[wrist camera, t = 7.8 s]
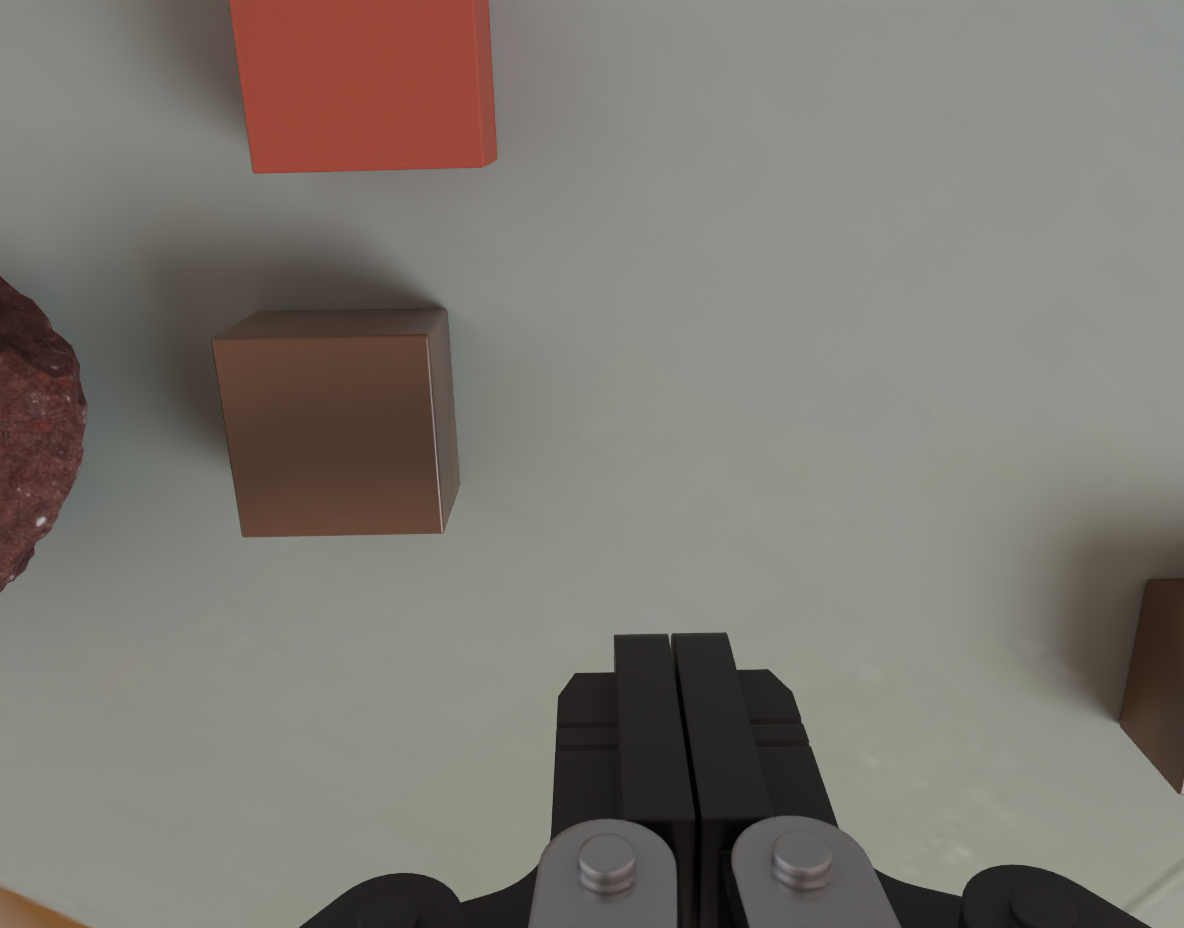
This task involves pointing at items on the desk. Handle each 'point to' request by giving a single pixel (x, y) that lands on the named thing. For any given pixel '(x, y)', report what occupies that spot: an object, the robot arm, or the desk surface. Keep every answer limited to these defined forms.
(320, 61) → the brick-red block
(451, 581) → the desk surface
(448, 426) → the brown wooden block
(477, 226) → the desk surface
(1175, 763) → the dark reddish-brown block
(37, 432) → the rock
